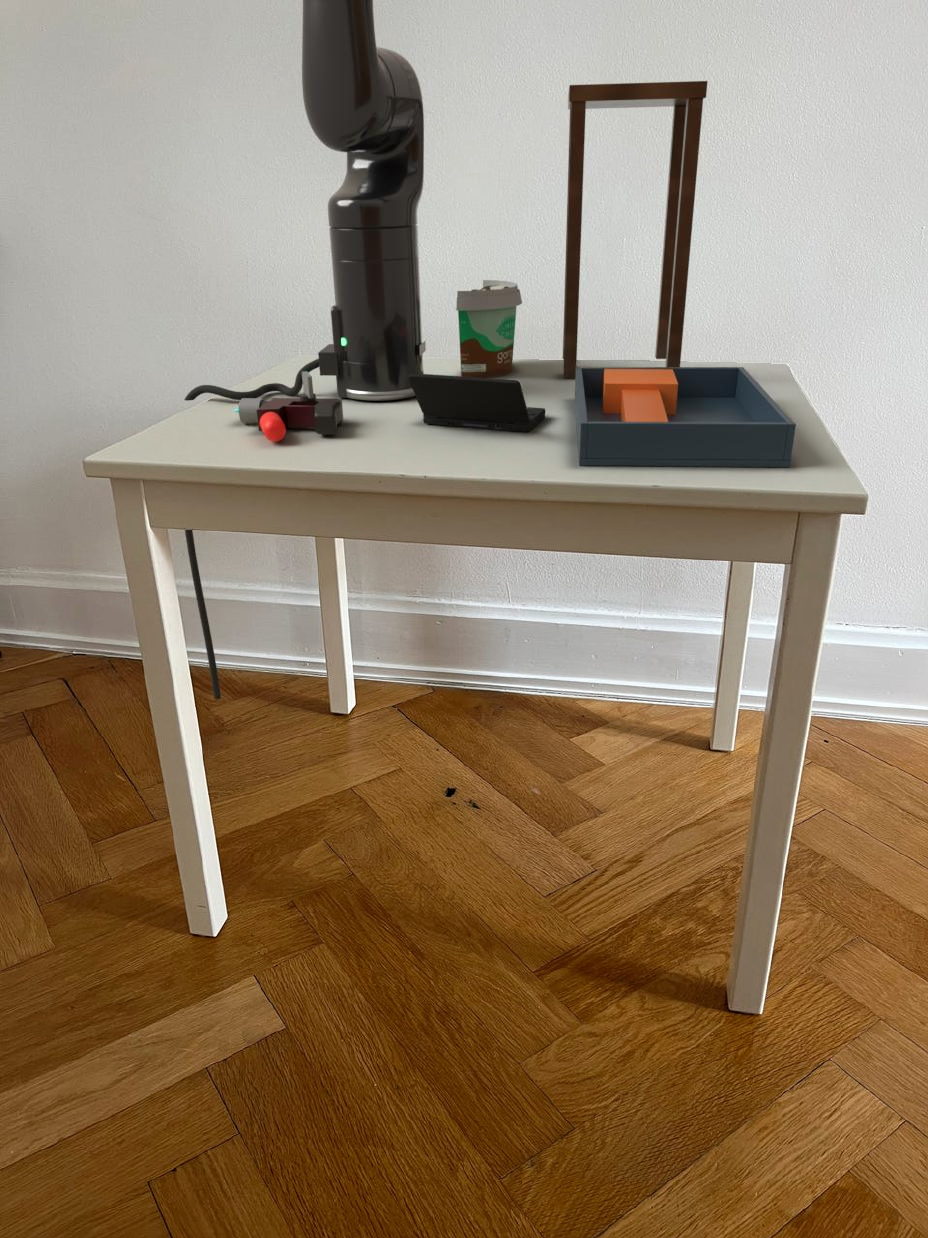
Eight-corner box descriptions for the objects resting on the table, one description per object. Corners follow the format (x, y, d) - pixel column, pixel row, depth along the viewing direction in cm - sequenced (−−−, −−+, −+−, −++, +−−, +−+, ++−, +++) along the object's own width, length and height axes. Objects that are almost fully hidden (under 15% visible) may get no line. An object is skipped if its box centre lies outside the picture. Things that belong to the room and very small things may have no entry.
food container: (508, 382, 105) (508, 292, 100) (457, 380, 107) (455, 291, 102) (531, 362, 116) (532, 279, 111) (484, 360, 117) (484, 279, 113)
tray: (579, 465, 75) (580, 423, 74) (574, 401, 96) (575, 367, 94) (789, 467, 74) (796, 423, 72) (739, 401, 94) (743, 366, 93)
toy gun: (240, 418, 92) (234, 370, 90) (354, 420, 90) (350, 371, 88) (202, 444, 84) (194, 392, 81) (327, 447, 82) (322, 393, 80)
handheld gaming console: (547, 395, 91) (528, 324, 82) (545, 453, 88) (525, 386, 79) (438, 407, 94) (409, 340, 85) (432, 464, 91) (401, 401, 82)
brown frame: (561, 378, 106) (569, 84, 93) (560, 356, 119) (568, 94, 105) (681, 378, 105) (707, 80, 92) (668, 356, 117) (689, 90, 104)
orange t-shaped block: (670, 398, 94) (672, 369, 92) (689, 457, 75) (692, 421, 73) (602, 397, 95) (604, 368, 93) (604, 455, 76) (606, 420, 74)
